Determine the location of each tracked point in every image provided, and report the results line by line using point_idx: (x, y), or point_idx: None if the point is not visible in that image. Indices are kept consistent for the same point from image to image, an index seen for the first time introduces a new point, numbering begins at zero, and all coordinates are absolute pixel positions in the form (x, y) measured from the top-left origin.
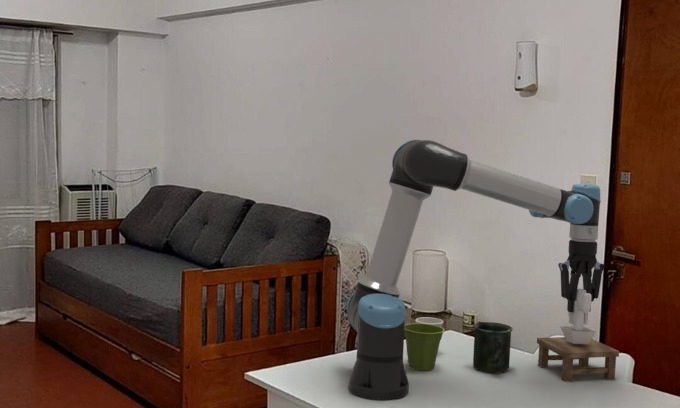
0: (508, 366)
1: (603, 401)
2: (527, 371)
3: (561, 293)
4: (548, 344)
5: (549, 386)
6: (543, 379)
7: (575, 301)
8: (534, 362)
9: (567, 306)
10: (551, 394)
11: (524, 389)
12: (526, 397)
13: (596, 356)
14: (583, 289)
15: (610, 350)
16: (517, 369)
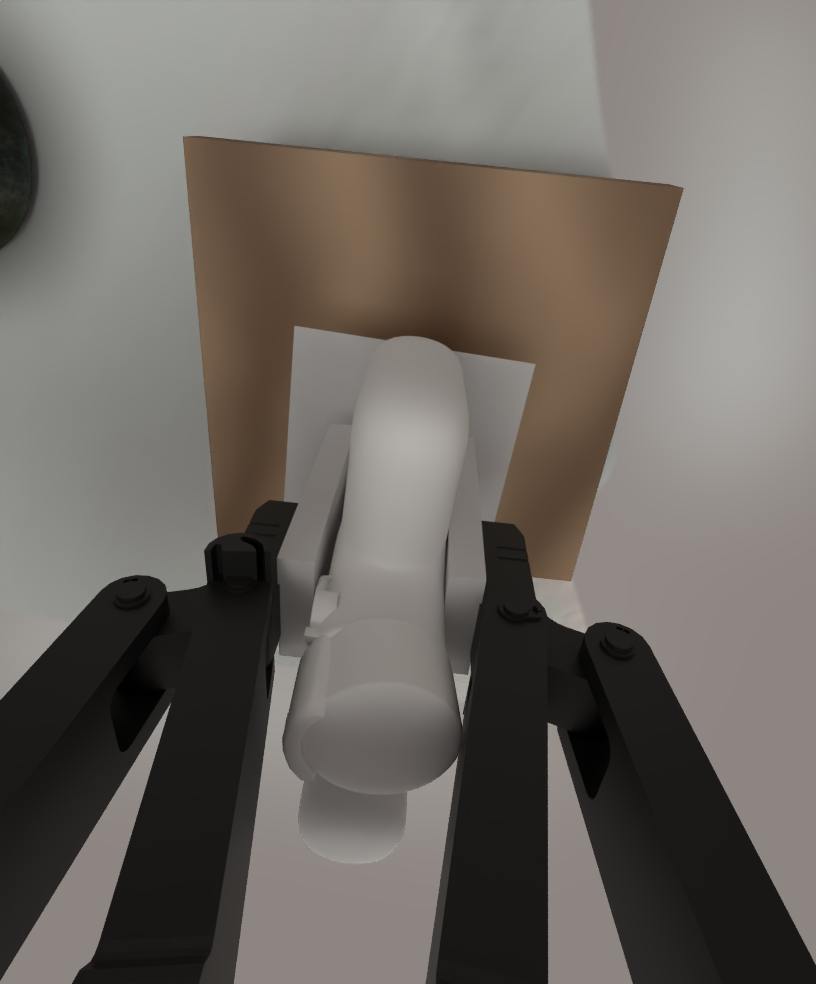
0: (5, 234)
1: (296, 660)
2: (145, 252)
3: (84, 615)
4: (202, 335)
5: (165, 490)
6: (179, 400)
7: (285, 649)
8: (277, 57)
9: (247, 530)
10: (131, 567)
11: (36, 497)
12: (18, 571)
13: None
14: (419, 754)
15: (529, 559)
16: (96, 198)
